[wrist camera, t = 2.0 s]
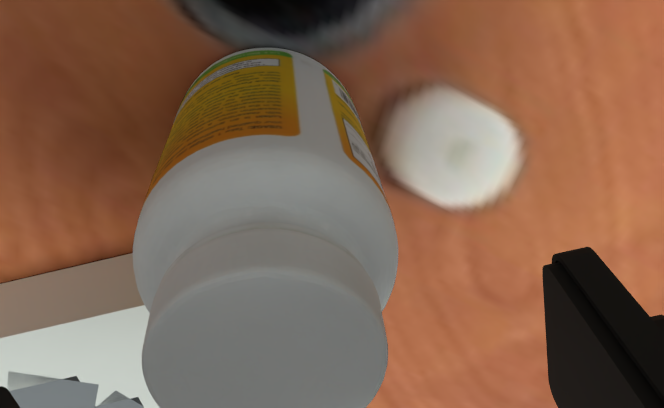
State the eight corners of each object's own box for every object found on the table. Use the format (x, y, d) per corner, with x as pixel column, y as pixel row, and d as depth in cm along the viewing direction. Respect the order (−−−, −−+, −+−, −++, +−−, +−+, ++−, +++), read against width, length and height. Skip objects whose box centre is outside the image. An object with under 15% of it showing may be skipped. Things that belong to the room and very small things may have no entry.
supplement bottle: (153, 172, 18) (51, 437, 10) (217, 9, 16) (156, 173, 8) (311, 231, 20) (339, 503, 11) (389, 91, 18) (497, 300, 9)
